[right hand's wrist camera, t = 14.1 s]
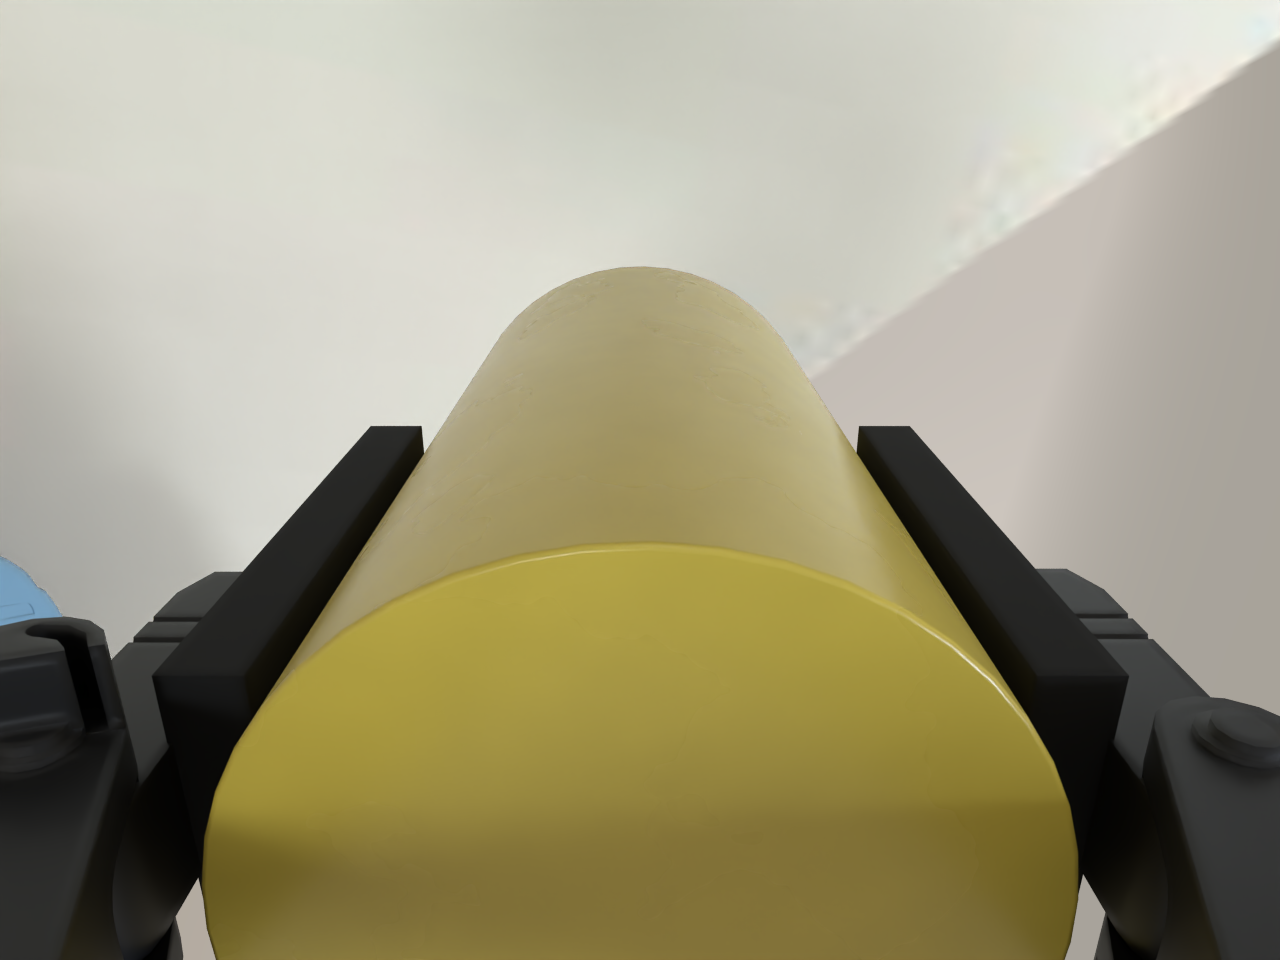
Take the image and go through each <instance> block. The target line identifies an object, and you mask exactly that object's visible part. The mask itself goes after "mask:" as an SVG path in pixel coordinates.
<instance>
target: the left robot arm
mask: <svg viewBox="0 0 1280 960" xmlns="http://www.w3.org/2000/svg"><path fill="white" fill-rule="evenodd" d="M51 617H62V615H61V613H60V612H59V610H58V608H57V606H56V605H55V603H54V602H53V601H52V599H51V598H50V597H49V595H48V594H47V593H46V591H44V590H43V589H41V588H38V587H37V586H36V584H35V583H34V582H33V580H32V579H31V577H30V576H29V575H28V574H27V573H26V572H25V571H24V570H23V569H21V568H20V567H18V566H17V565H15V564H14V563H12V562H10V561H9V560H7V559H5V558H3V557H1V556H0V626H2V625H6V624H11V623H16V622H20V621H25V620H29V619H36V618H51Z"/></svg>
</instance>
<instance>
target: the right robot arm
mask: <svg viewBox="0 0 1280 960" xmlns="http://www.w3.org/2000/svg"><path fill="white" fill-rule="evenodd" d="M423 455H424V447H423V437H422V426H371V427H370V428H369V429H368V430H367V431H366V432H365V433H364V435H363V436H362V437H361V438H360V439H359V440H358V441H357V443H356V444H355V445H354V446H353V447H352V448H351V449H350V450H349V452H348V453H347V454H346V455H345V456H344V457H343V458H342V460H341V461H340V462H339V463H338V464H337V465H336V466H335V468H334V469H333V470H332V471H331V472H330V473H329V474H328V475H327V477H326V478H325V479H324V480H323V481H322V482H321V483H320V485H319V486H318V487H317V488H316V489H315V490H314V491H313V493H312V494H311V495H310V496H309V497H308V498H307V499H306V501H305V502H304V503H303V504H302V505H301V506H300V507H299V508H298V510H297V511H296V512H295V513H294V514H293V515H292V516H291V518H290V519H289V520H288V521H287V522H286V523H285V524H284V526H283V527H282V528H281V529H280V530H279V531H278V532H277V533H276V535H275V536H274V537H273V538H272V539H271V540H270V541H269V543H268V544H267V545H266V546H265V547H264V548H263V549H262V551H261V552H260V553H259V554H258V555H257V556H256V557H255V558H254V560H253V561H252V562H251V563H250V564H249V565H248V566H247V568H246V569H245V570H244V571H243V572H214V573H212V574H210V575H208V576H207V577H205V578H203V579H201V580H199V581H198V582H196V583H194V584H192V585H190V586H189V587H187V588H185V589H183V590H181V591H179V592H178V593H177V594H176V595H175V596H174V597H173V598H172V599H171V600H170V601H169V602H168V603H167V604H166V605H165V606H164V607H163V608H162V609H161V610H160V611H159V612H158V613H157V614H156V615H155V616H154V620H153V622H148V623H147V624H146V625H145V626H144V627H143V628H142V629H141V630H140V631H139V632H138V633H137V634H136V635H135V636H134V641H133V643H128V644H127V645H126V646H125V647H124V648H123V649H122V650H121V651H120V652H119V653H118V654H117V655H116V656H115V657H114V658H113V659H112V660H111V657H110V653H109V649H108V645H107V641H106V637H105V633H104V630H103V629H101V628H100V627H99V626H97V625H96V624H94V623H93V622H91V621H90V620H83V619H77V618H71V617H51V618H36V619H29V620H25V621H20V622H16V623H11V624H6V625H2V626H0V960H183V951H182V944H181V937H180V933H179V929H178V925H177V921H176V917H175V916H176V915H177V913H178V911H179V910H180V908H181V906H182V904H183V903H184V901H185V899H186V898H187V896H188V894H189V892H190V891H191V889H192V887H193V885H194V884H195V882H196V880H197V879H198V878H199V882H200V886H201V891H202V870H203V852H204V836H205V832H206V828H207V823H208V819H209V815H210V811H211V806H212V802H213V798H214V794H215V791H216V788H217V786H218V784H219V781H220V779H221V777H222V774H223V772H224V770H225V767H226V765H227V763H228V760H229V758H230V756H231V754H232V751H233V749H234V747H235V745H236V744H237V742H238V741H239V739H240V738H241V736H242V734H243V733H244V731H245V730H246V728H247V727H248V725H249V724H250V722H251V721H252V719H253V717H254V716H255V714H256V713H257V711H258V710H259V708H260V707H261V705H262V704H263V702H264V701H265V699H266V697H267V696H268V694H269V693H270V691H271V690H272V688H273V687H274V685H275V684H276V682H277V680H278V679H279V677H280V676H281V674H282V673H283V671H284V670H285V668H286V667H287V665H288V663H289V662H290V660H291V659H292V657H293V656H294V654H295V653H296V651H297V650H298V648H299V646H300V645H301V643H302V642H303V640H304V639H305V637H306V636H307V634H308V633H309V631H310V629H311V628H312V626H313V625H314V623H315V622H316V620H317V619H318V617H319V616H320V614H321V612H322V611H323V609H324V608H325V606H326V605H327V603H328V602H329V600H330V599H331V597H332V595H333V594H334V592H335V591H336V589H337V588H338V586H339V585H340V583H341V582H342V580H343V578H344V577H345V575H346V574H347V572H348V571H349V569H350V568H351V566H352V565H353V563H354V561H355V560H356V558H357V557H358V555H359V554H360V552H361V551H362V549H363V548H364V546H365V544H366V543H367V541H368V540H369V538H370V537H371V535H372V534H373V532H374V531H375V529H376V527H377V526H378V524H379V523H380V521H381V520H382V518H383V517H384V515H385V514H386V512H387V510H388V509H389V507H390V506H391V504H392V503H393V501H394V500H395V498H396V497H397V495H398V493H399V492H400V490H401V489H402V487H403V486H404V484H405V483H406V481H407V480H408V478H409V476H410V475H411V473H412V472H413V470H414V469H415V467H416V466H417V464H418V463H419V461H420V459H421V458H422V456H423ZM857 455H858V456H859V458H860V459H861V461H862V463H863V464H864V466H865V467H866V469H867V470H868V472H869V473H870V475H871V476H872V478H873V479H874V481H875V483H876V484H877V486H878V487H879V489H880V490H881V492H882V493H883V495H884V496H885V498H886V499H887V501H888V503H889V504H890V506H891V507H892V509H893V510H894V512H895V513H896V515H897V516H898V518H899V519H900V521H901V522H902V524H903V526H904V527H905V529H906V530H907V532H908V533H909V535H910V536H911V538H912V539H913V541H914V542H915V544H916V546H917V547H918V549H919V550H920V552H921V553H922V555H923V556H924V558H925V559H926V561H927V562H928V564H929V566H930V567H931V569H932V570H933V572H934V573H935V575H936V576H937V578H938V579H939V581H940V582H941V584H942V586H943V587H944V589H945V590H946V592H947V593H948V595H949V596H950V598H951V599H952V601H953V602H954V604H955V606H956V607H957V609H958V610H959V612H960V613H961V615H962V616H963V618H964V619H965V621H966V622H967V624H968V626H969V627H970V629H971V630H972V632H973V633H974V635H975V636H976V638H977V639H978V641H979V642H980V644H981V645H982V647H983V649H984V650H985V652H986V653H987V655H988V656H989V658H990V659H991V661H992V662H993V664H994V665H995V667H996V669H997V670H998V672H999V673H1000V675H1001V676H1002V678H1003V679H1004V681H1005V682H1006V684H1007V685H1008V687H1009V689H1010V690H1011V692H1012V693H1013V695H1014V696H1015V698H1016V699H1017V701H1018V702H1019V704H1020V705H1021V707H1022V709H1023V710H1024V712H1025V713H1026V715H1027V716H1028V718H1029V719H1030V721H1031V723H1032V725H1033V726H1034V728H1035V730H1036V732H1037V733H1038V735H1039V737H1040V739H1041V740H1042V742H1043V744H1044V745H1045V747H1046V749H1047V751H1048V752H1049V754H1050V756H1051V758H1052V759H1053V761H1054V764H1055V766H1056V769H1057V772H1058V774H1059V777H1060V780H1061V783H1062V785H1063V788H1064V791H1065V793H1066V796H1067V799H1068V802H1069V804H1070V808H1071V814H1072V820H1073V825H1074V831H1075V836H1076V842H1077V848H1078V893H1079V889H1080V885H1081V881H1082V876H1083V875H1084V876H1085V878H1086V880H1087V881H1088V883H1089V885H1090V886H1091V888H1092V890H1093V892H1094V893H1095V895H1096V897H1097V898H1098V900H1099V902H1100V903H1101V905H1102V907H1103V909H1104V910H1105V912H1106V913H1105V917H1104V921H1103V925H1102V929H1101V933H1100V937H1099V941H1098V945H1097V949H1096V953H1095V957H1094V960H1280V716H1278V715H1276V714H1273V713H1271V712H1269V711H1266V710H1264V709H1262V708H1259V707H1256V706H1252V705H1248V704H1244V703H1240V702H1236V701H1233V700H1229V699H1225V698H1212V697H1210V696H1209V695H1208V694H1207V693H1206V692H1205V691H1204V690H1203V689H1202V688H1201V687H1200V686H1199V685H1198V684H1197V683H1196V682H1195V681H1194V680H1193V679H1192V678H1191V677H1190V676H1189V675H1188V674H1187V673H1186V672H1185V671H1184V670H1183V669H1182V668H1181V667H1180V666H1179V665H1178V664H1177V663H1176V662H1175V661H1174V660H1173V659H1172V658H1171V657H1170V656H1169V655H1168V654H1167V653H1166V652H1165V651H1164V650H1163V649H1162V648H1161V647H1160V646H1159V645H1158V644H1157V643H1156V642H1155V641H1154V640H1153V639H1148V634H1147V633H1146V632H1145V631H1144V630H1143V629H1142V628H1141V627H1140V626H1139V624H1137V623H1136V621H1135V620H1134V619H1128V613H1127V612H1126V611H1125V610H1124V609H1123V608H1122V607H1121V606H1120V605H1119V604H1118V603H1117V602H1116V601H1115V600H1114V599H1113V598H1112V597H1111V596H1110V595H1109V594H1108V593H1107V592H1106V591H1105V590H1104V589H1102V588H1100V587H1098V586H1097V585H1095V584H1093V583H1091V582H1089V581H1088V580H1086V579H1084V578H1082V577H1080V576H1078V575H1077V574H1075V573H1073V572H1071V571H1069V570H1068V569H1035V568H1034V567H1033V566H1032V565H1031V563H1030V562H1029V561H1028V560H1027V559H1026V558H1025V557H1024V556H1023V554H1022V553H1021V552H1020V551H1019V550H1018V549H1017V548H1016V546H1015V545H1014V544H1013V543H1012V542H1011V541H1010V540H1009V538H1008V537H1007V536H1006V535H1005V534H1004V533H1003V532H1002V531H1001V529H1000V528H999V527H998V526H997V525H996V524H995V523H994V521H993V520H992V519H991V518H990V517H989V516H988V515H987V513H986V512H985V511H984V510H983V509H982V508H981V507H980V505H979V504H978V503H977V502H976V501H975V500H974V499H973V498H972V496H971V495H970V494H969V493H968V492H967V491H966V490H965V488H964V487H963V486H962V485H961V484H960V483H959V482H958V481H957V479H956V478H955V477H954V476H953V475H952V474H951V473H950V471H949V470H948V469H947V468H946V467H945V466H944V465H943V463H942V462H941V461H940V460H939V459H938V458H937V457H936V455H935V454H934V453H933V452H932V451H931V450H930V449H929V448H928V446H927V445H926V444H925V443H924V442H923V441H922V440H921V438H920V437H919V436H918V435H917V434H916V433H915V432H914V430H913V429H912V428H911V427H910V426H859V433H858V443H857ZM202 895H203V892H202Z"/></svg>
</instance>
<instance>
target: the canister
mask: <svg viewBox="0 0 1280 960" xmlns="http://www.w3.org/2000/svg"><path fill="white" fill-rule="evenodd" d="M202 892H203V900H204V909H205V917H206V925H207V931H208V934H209V937H210V941H211V944H212V948H213V951H214V954H215V958H216V960H1065V957H1066V954H1067V951H1068V948H1069V945H1070V943H1071V937H1072V932H1073V926H1074V920H1075V914H1076V909H1077V903H1078V848H1077V842H1076V836H1075V831H1074V825H1073V820H1072V814H1071V808H1070V804H1069V802H1068V799H1067V796H1066V793H1065V791H1064V788H1063V785H1062V783H1061V780H1060V777H1059V774H1058V772H1057V769H1056V766H1055V764H1054V761H1053V759H1052V758H1051V756H1050V754H1049V752H1048V751H1047V749H1046V747H1045V745H1044V744H1043V742H1042V740H1041V739H1040V737H1039V735H1038V733H1037V732H1036V730H1035V728H1034V726H1033V725H1032V723H1031V721H1030V719H1029V718H1028V716H1027V715H1026V713H1025V712H1024V710H1023V709H1022V707H1021V705H1020V704H1019V702H1018V701H1017V699H1016V698H1015V696H1014V695H1013V693H1012V692H1011V690H1010V689H1009V687H1008V685H1007V684H1006V682H1005V681H1004V679H1003V678H1002V676H1001V675H1000V673H999V672H998V670H997V669H996V667H995V665H994V664H993V662H992V661H991V659H990V658H989V656H988V655H987V653H986V652H985V650H984V649H983V647H982V645H981V644H980V642H979V641H978V639H977V638H976V636H975V635H974V633H973V632H972V630H971V629H970V627H969V626H968V624H967V622H966V621H965V619H964V618H963V616H962V615H961V613H960V612H959V610H958V609H957V607H956V606H955V604H954V602H953V601H952V599H951V598H950V596H949V595H948V593H947V592H946V590H945V589H944V587H943V586H942V584H941V582H940V581H939V579H938V578H937V576H936V575H935V573H934V572H933V570H932V569H931V567H930V566H929V564H928V562H927V561H926V559H925V558H924V556H923V555H922V553H921V552H920V550H919V549H918V547H917V546H916V544H915V542H914V541H913V539H912V538H911V536H910V535H909V533H908V532H907V530H906V529H905V527H904V526H903V524H902V522H901V521H900V519H899V518H898V516H897V515H896V513H895V512H894V510H893V509H892V507H891V506H890V504H889V503H888V501H887V499H886V498H885V496H884V495H883V493H882V492H881V490H880V489H879V487H878V486H877V484H876V483H875V481H874V479H873V478H872V476H871V475H870V473H869V472H868V470H867V469H866V467H865V466H864V464H863V463H862V461H861V459H860V458H859V456H858V455H857V453H856V452H855V450H854V449H853V447H852V446H851V444H850V443H849V441H848V439H847V438H846V436H845V435H844V433H843V432H842V430H841V429H840V427H839V426H838V424H837V423H836V421H835V419H834V418H833V417H832V415H831V413H830V412H829V410H828V409H827V407H826V406H825V404H824V403H823V401H822V400H821V398H820V396H819V395H818V393H817V392H816V390H815V389H814V387H813V386H812V384H811V383H810V381H809V380H808V378H807V376H806V375H805V373H804V372H803V370H802V369H801V367H800V366H799V364H798V363H797V361H796V360H795V358H794V356H793V355H792V353H791V352H790V350H789V349H788V347H787V346H786V344H785V343H784V341H783V340H782V338H781V337H780V336H779V335H778V333H777V332H776V331H775V330H774V328H773V327H772V326H771V324H770V323H769V322H768V321H767V320H766V319H765V318H764V317H763V316H762V315H761V314H760V313H759V312H757V311H756V310H755V309H754V308H753V307H752V306H751V305H749V304H748V303H747V302H745V301H744V300H743V299H741V298H740V297H738V296H737V295H736V294H734V293H733V292H731V291H729V290H727V289H725V288H723V287H721V286H719V285H718V284H716V283H714V282H712V281H709V280H706V279H703V278H701V277H698V276H695V275H693V274H689V273H685V272H680V271H676V270H672V269H666V268H655V267H623V268H615V269H610V270H604V271H599V272H595V273H592V274H589V275H585V276H582V277H579V278H576V279H573V280H571V281H569V282H567V283H565V284H563V285H561V286H559V287H557V288H555V289H553V290H551V291H550V292H548V293H547V294H545V295H544V296H542V297H541V298H539V299H537V300H536V301H534V302H533V303H532V304H531V305H530V306H529V307H527V308H526V309H525V310H524V311H523V312H522V313H521V314H519V315H518V316H517V317H516V318H515V319H514V321H513V322H512V323H511V324H510V325H509V326H508V327H507V329H506V330H505V331H504V332H503V333H502V334H501V336H500V338H499V339H498V341H497V342H496V344H495V345H494V347H493V348H492V350H491V351H490V353H489V354H488V356H487V358H486V359H485V361H484V362H483V364H482V365H481V367H480V368H479V370H478V371H477V373H476V375H475V376H474V378H473V379H472V381H471V382H470V384H469V385H468V387H467V388H466V390H465V392H464V393H463V395H462V396H461V398H460V399H459V401H458V402H457V404H456V405H455V407H454V409H453V410H452V412H451V413H450V415H449V416H448V418H447V419H446V421H445V422H444V424H443V426H442V427H441V429H440V430H439V432H438V433H437V435H436V436H435V438H434V439H433V441H432V443H431V444H430V446H429V447H428V449H427V450H426V452H425V453H424V455H423V456H422V458H421V459H420V461H419V463H418V464H417V466H416V467H415V469H414V470H413V472H412V473H411V475H410V476H409V478H408V480H407V481H406V483H405V484H404V486H403V487H402V489H401V490H400V492H399V493H398V495H397V497H396V498H395V500H394V501H393V503H392V504H391V506H390V507H389V509H388V510H387V512H386V514H385V515H384V517H383V518H382V520H381V521H380V523H379V524H378V526H377V527H376V529H375V531H374V532H373V534H372V535H371V537H370V538H369V540H368V541H367V543H366V544H365V546H364V548H363V549H362V551H361V552H360V554H359V555H358V557H357V558H356V560H355V561H354V563H353V565H352V566H351V568H350V569H349V571H348V572H347V574H346V575H345V577H344V578H343V580H342V582H341V583H340V585H339V586H338V588H337V589H336V591H335V592H334V594H333V595H332V597H331V599H330V600H329V602H328V603H327V605H326V606H325V608H324V609H323V611H322V612H321V614H320V616H319V617H318V619H317V620H316V622H315V623H314V625H313V626H312V628H311V629H310V631H309V633H308V634H307V636H306V637H305V639H304V640H303V642H302V643H301V645H300V646H299V648H298V650H297V651H296V653H295V654H294V656H293V657H292V659H291V660H290V662H289V663H288V665H287V667H286V668H285V670H284V671H283V673H282V674H281V676H280V677H279V679H278V680H277V682H276V684H275V685H274V687H273V688H272V690H271V691H270V693H269V694H268V696H267V697H266V699H265V701H264V702H263V704H262V705H261V707H260V708H259V710H258V711H257V713H256V714H255V716H254V717H253V719H252V721H251V722H250V724H249V725H248V727H247V728H246V730H245V731H244V733H243V734H242V736H241V738H240V739H239V741H238V742H237V744H236V745H235V747H234V749H233V751H232V754H231V756H230V758H229V760H228V763H227V765H226V767H225V770H224V772H223V774H222V777H221V779H220V781H219V784H218V786H217V788H216V791H215V794H214V798H213V802H212V806H211V811H210V815H209V819H208V823H207V828H206V832H205V836H204V852H203V870H202Z"/></svg>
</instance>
